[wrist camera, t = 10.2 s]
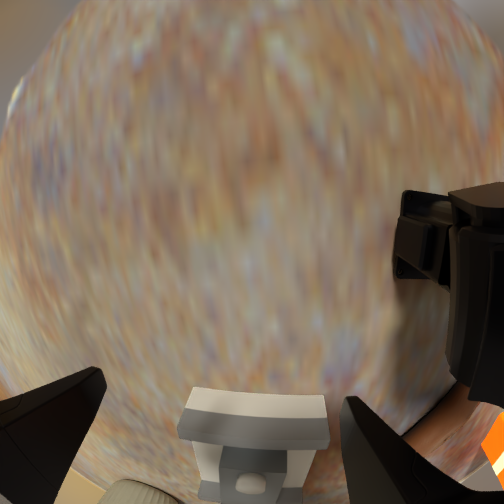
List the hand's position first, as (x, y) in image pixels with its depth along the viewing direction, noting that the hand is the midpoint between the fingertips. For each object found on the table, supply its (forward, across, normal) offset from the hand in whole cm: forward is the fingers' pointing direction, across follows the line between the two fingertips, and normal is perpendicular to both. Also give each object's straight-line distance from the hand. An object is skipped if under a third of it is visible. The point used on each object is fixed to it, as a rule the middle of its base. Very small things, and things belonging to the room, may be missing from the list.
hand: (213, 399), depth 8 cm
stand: (+12, -1, +19) cm, 22 cm away
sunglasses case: (+13, -23, +18) cm, 32 cm away
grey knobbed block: (+9, -1, +19) cm, 21 cm away
